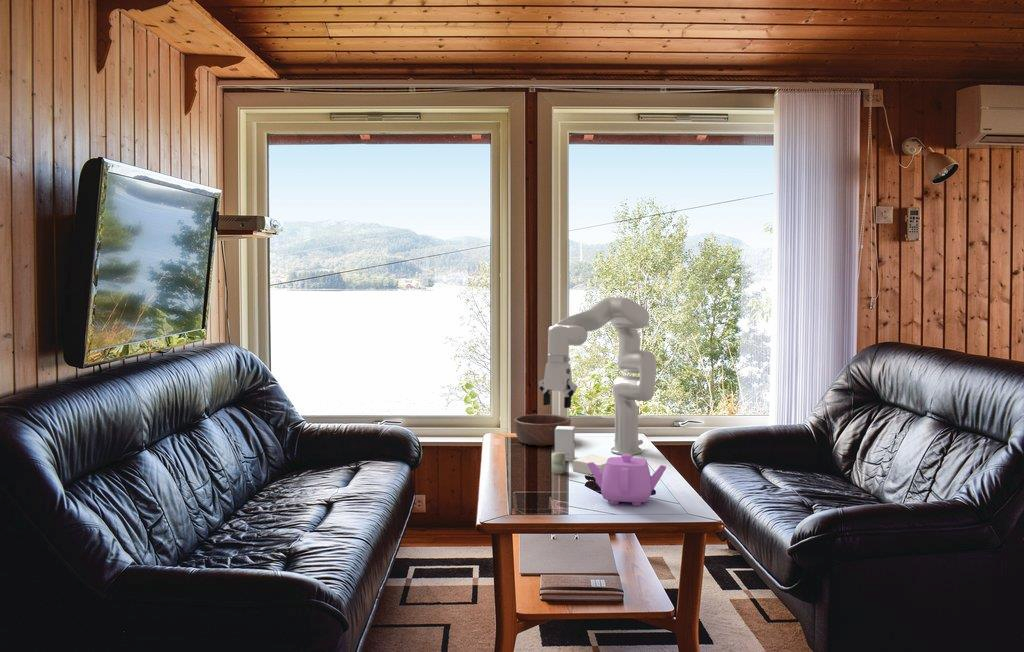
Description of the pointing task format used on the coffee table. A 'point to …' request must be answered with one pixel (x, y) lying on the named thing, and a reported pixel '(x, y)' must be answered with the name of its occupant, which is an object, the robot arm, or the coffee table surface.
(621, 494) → the teapot
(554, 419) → the wooden bowl
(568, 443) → the supplement box
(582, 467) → the base
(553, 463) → the green domed cylinder
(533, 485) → the coffee table surface
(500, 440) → the coffee table surface
